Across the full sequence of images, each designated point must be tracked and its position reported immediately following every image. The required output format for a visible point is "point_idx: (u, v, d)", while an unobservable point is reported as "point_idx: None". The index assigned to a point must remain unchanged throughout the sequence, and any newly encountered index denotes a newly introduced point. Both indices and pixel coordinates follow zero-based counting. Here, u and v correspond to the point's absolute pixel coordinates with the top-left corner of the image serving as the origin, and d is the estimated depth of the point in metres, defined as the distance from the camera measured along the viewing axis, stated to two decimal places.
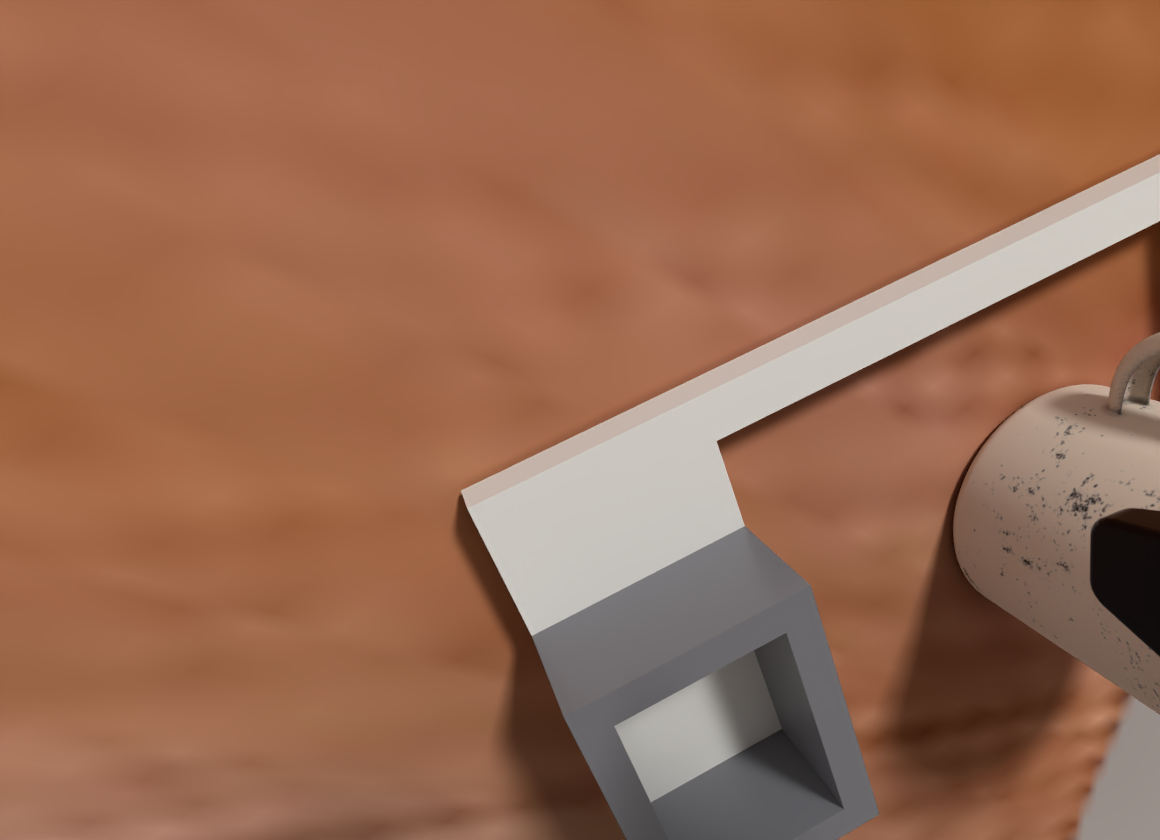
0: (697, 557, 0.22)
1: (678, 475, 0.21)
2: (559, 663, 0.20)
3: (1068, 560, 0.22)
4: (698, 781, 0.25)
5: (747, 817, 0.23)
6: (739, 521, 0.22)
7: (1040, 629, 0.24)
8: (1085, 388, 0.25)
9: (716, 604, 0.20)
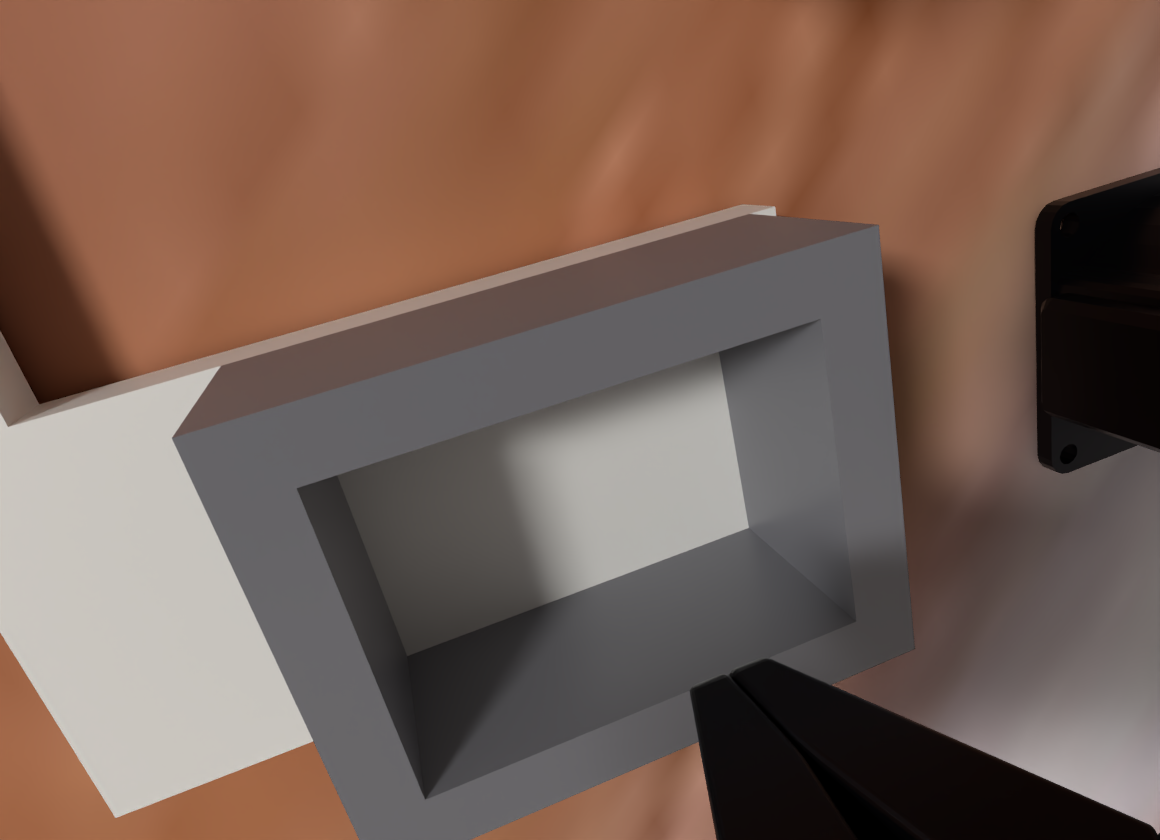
0: None
1: (84, 499, 0.11)
2: None
3: None
4: (740, 456, 0.14)
5: (792, 455, 0.12)
6: (207, 376, 0.11)
7: None
8: None
9: None
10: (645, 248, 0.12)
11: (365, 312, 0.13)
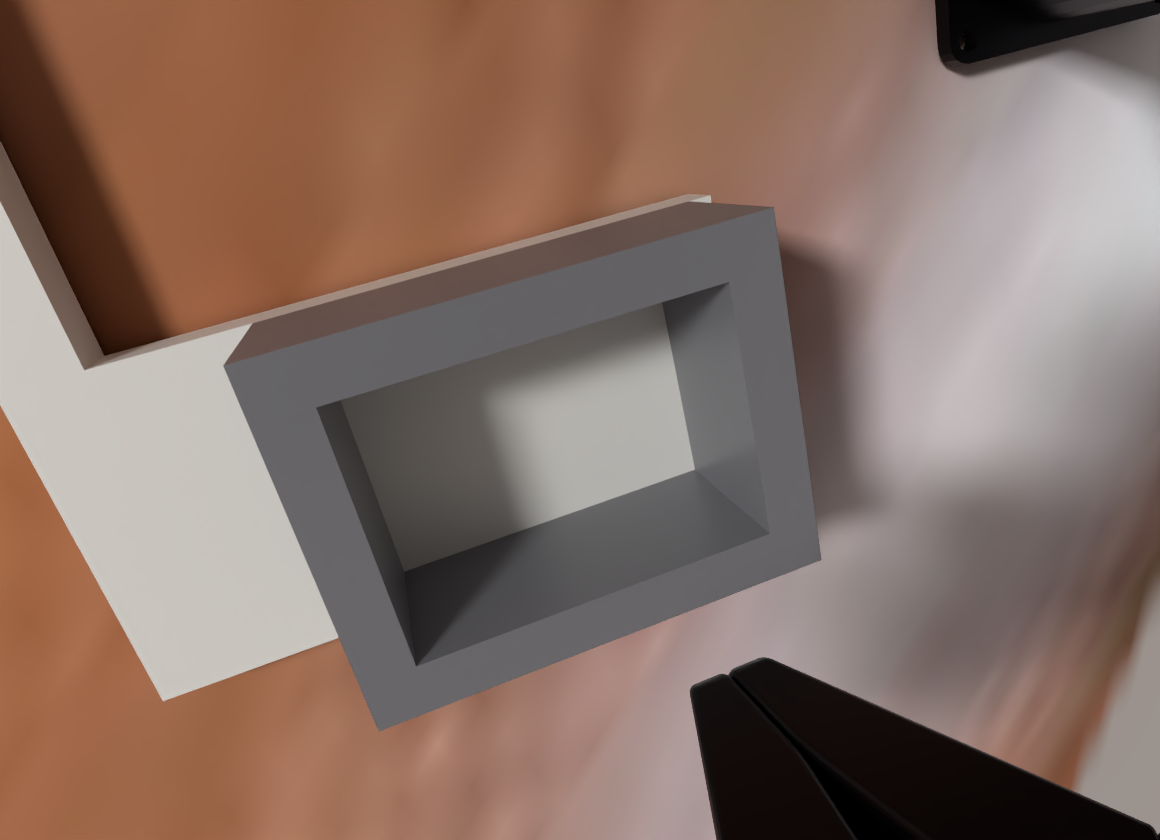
0: None
1: (142, 430, 0.14)
2: None
3: None
4: (685, 406, 0.17)
5: (719, 399, 0.15)
6: (242, 330, 0.14)
7: None
8: None
9: None
10: (599, 229, 0.15)
11: (369, 282, 0.16)
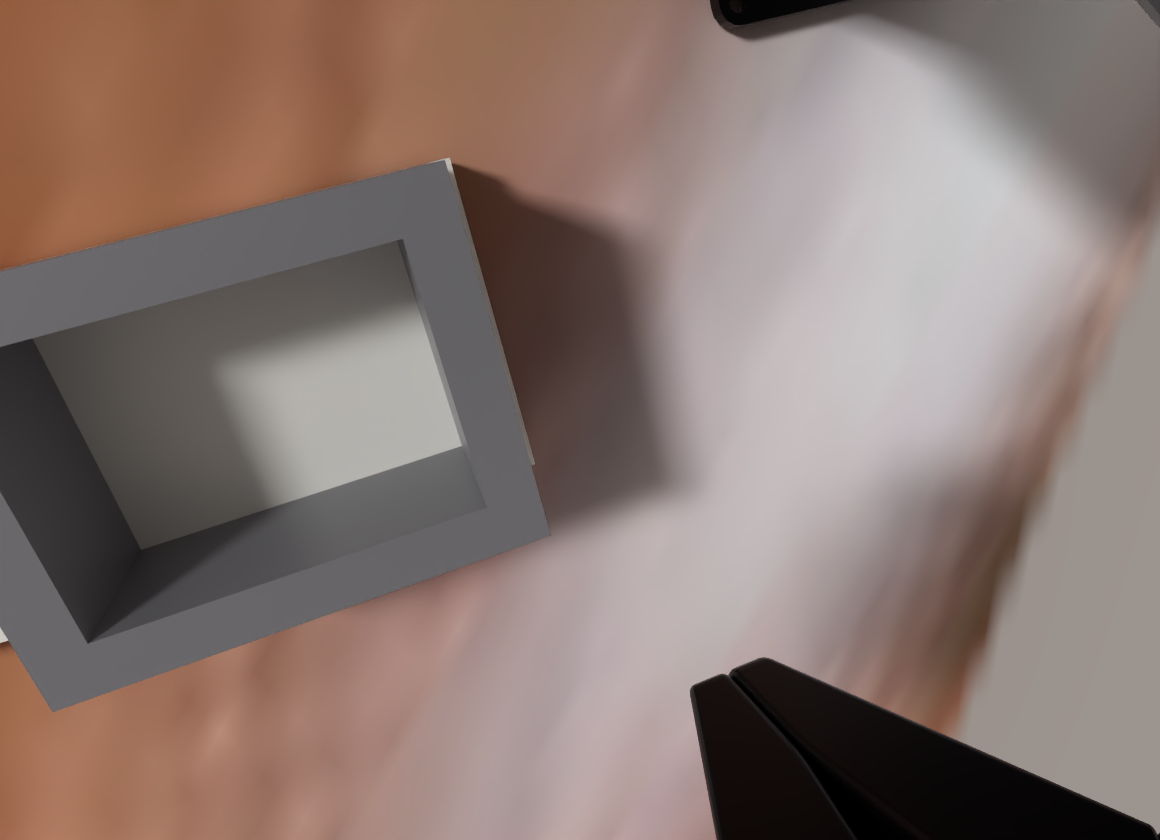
0: None
1: None
2: None
3: None
4: (441, 379, 0.16)
5: (440, 367, 0.14)
6: None
7: None
8: None
9: None
10: (319, 190, 0.14)
11: None
